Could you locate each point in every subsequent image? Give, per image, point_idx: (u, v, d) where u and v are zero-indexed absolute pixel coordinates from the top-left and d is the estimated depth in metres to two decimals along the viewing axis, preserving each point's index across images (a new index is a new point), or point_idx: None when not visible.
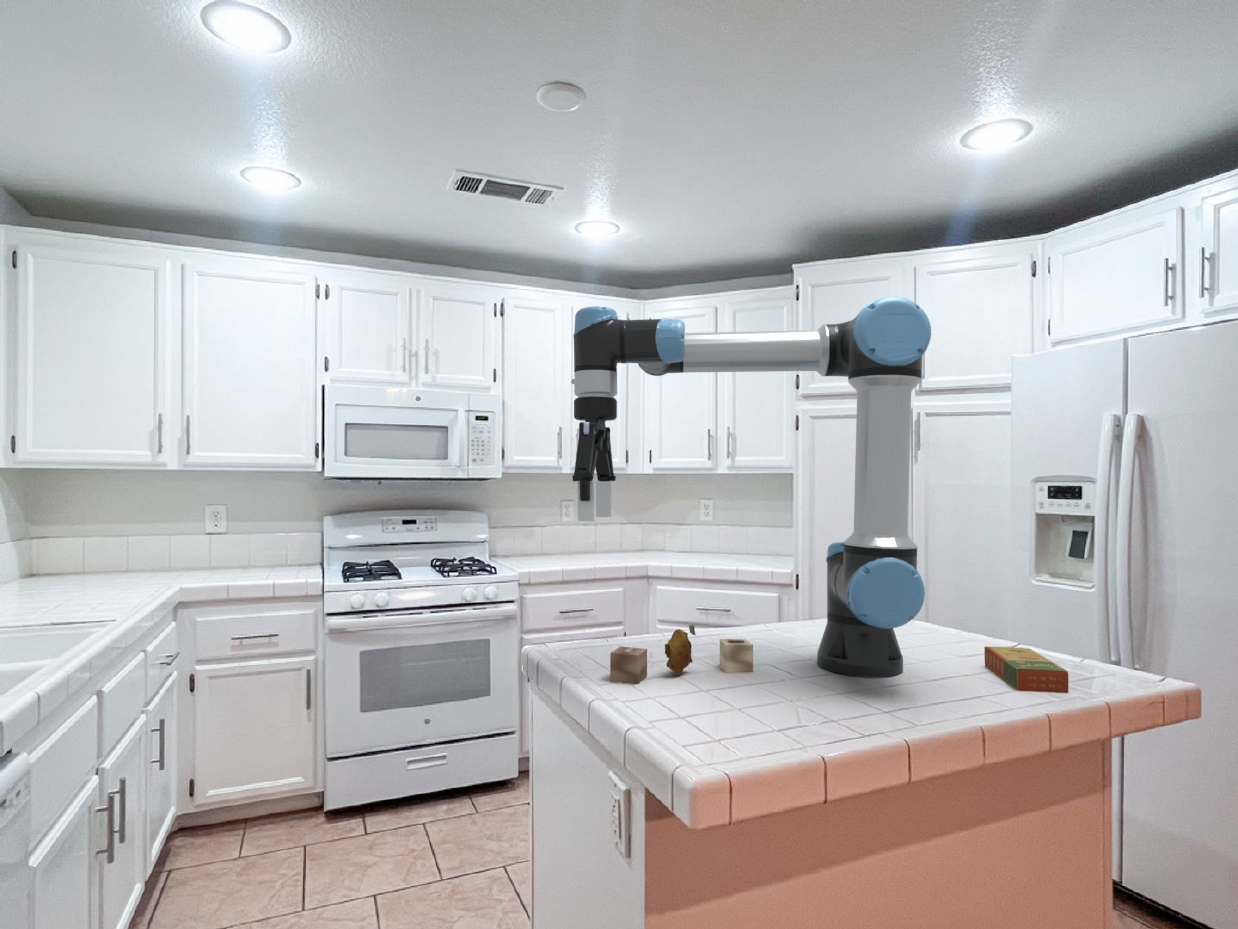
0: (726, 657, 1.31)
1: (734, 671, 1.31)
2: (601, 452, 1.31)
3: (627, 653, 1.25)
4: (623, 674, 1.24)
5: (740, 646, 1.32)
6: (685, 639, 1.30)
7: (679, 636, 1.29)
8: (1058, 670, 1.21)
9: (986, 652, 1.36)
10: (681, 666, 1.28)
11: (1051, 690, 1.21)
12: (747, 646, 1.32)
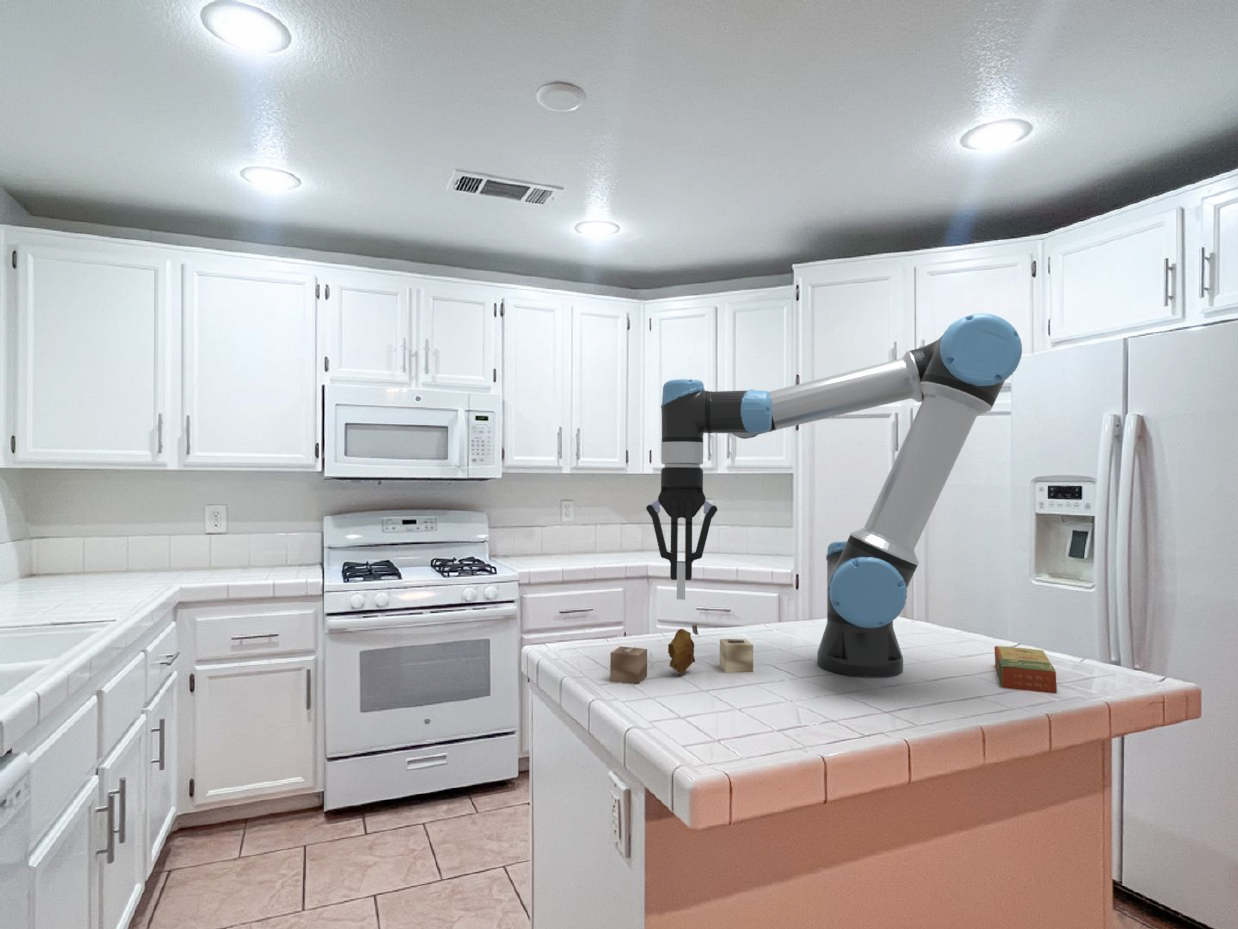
0: (726, 657, 1.31)
1: (734, 671, 1.31)
2: None
3: (627, 653, 1.25)
4: (623, 674, 1.24)
5: (740, 646, 1.32)
6: (688, 639, 1.30)
7: (682, 636, 1.29)
8: (1046, 670, 1.21)
9: None
10: (684, 666, 1.29)
11: (1038, 690, 1.21)
12: (747, 646, 1.32)
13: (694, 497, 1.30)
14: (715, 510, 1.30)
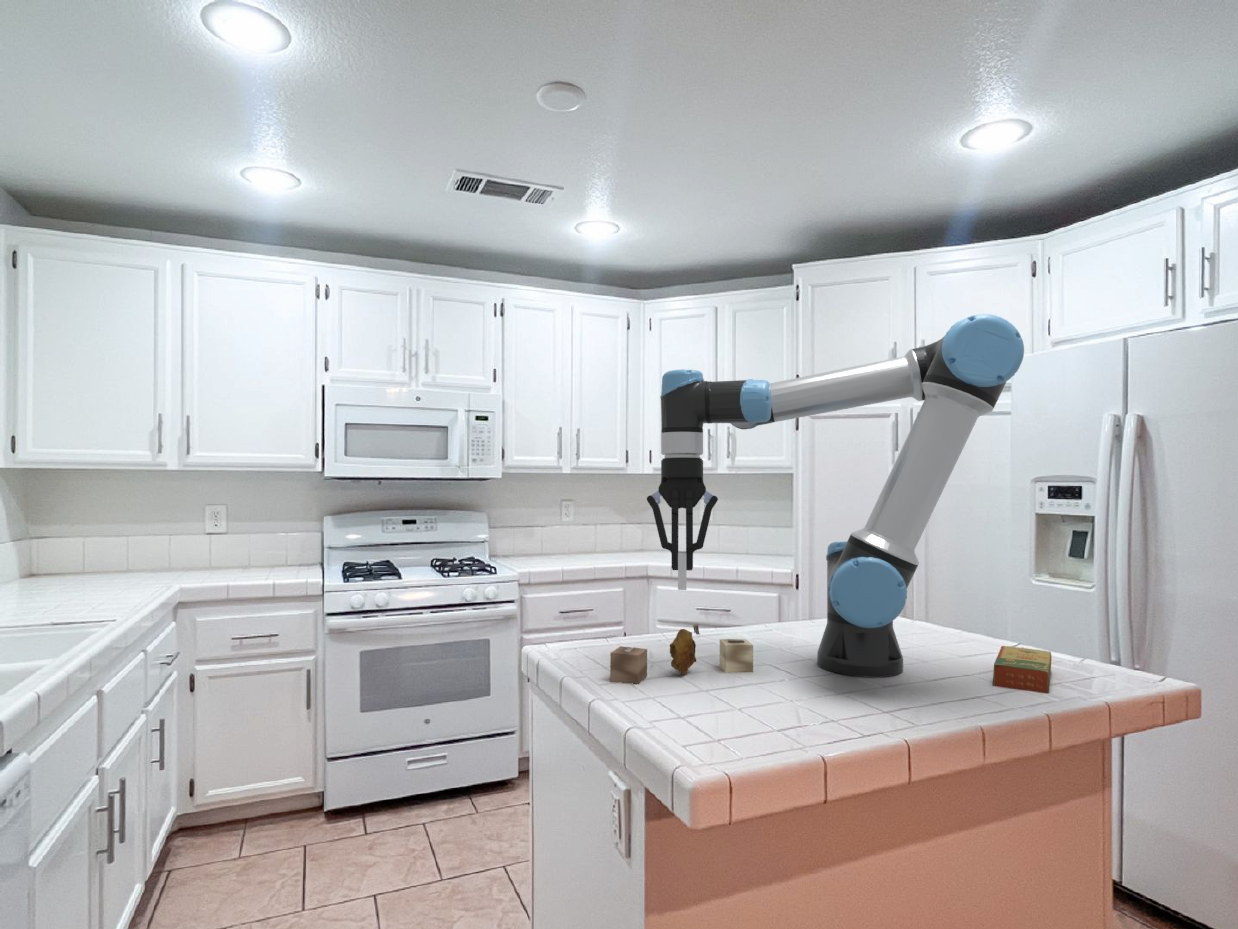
0: (726, 657, 1.31)
1: (734, 671, 1.31)
2: None
3: (627, 653, 1.25)
4: (623, 674, 1.24)
5: (740, 646, 1.32)
6: (690, 639, 1.30)
7: (684, 636, 1.30)
8: (1038, 670, 1.21)
9: None
10: (686, 666, 1.29)
11: (1029, 689, 1.21)
12: (747, 646, 1.32)
13: (694, 487, 1.30)
14: (715, 500, 1.30)
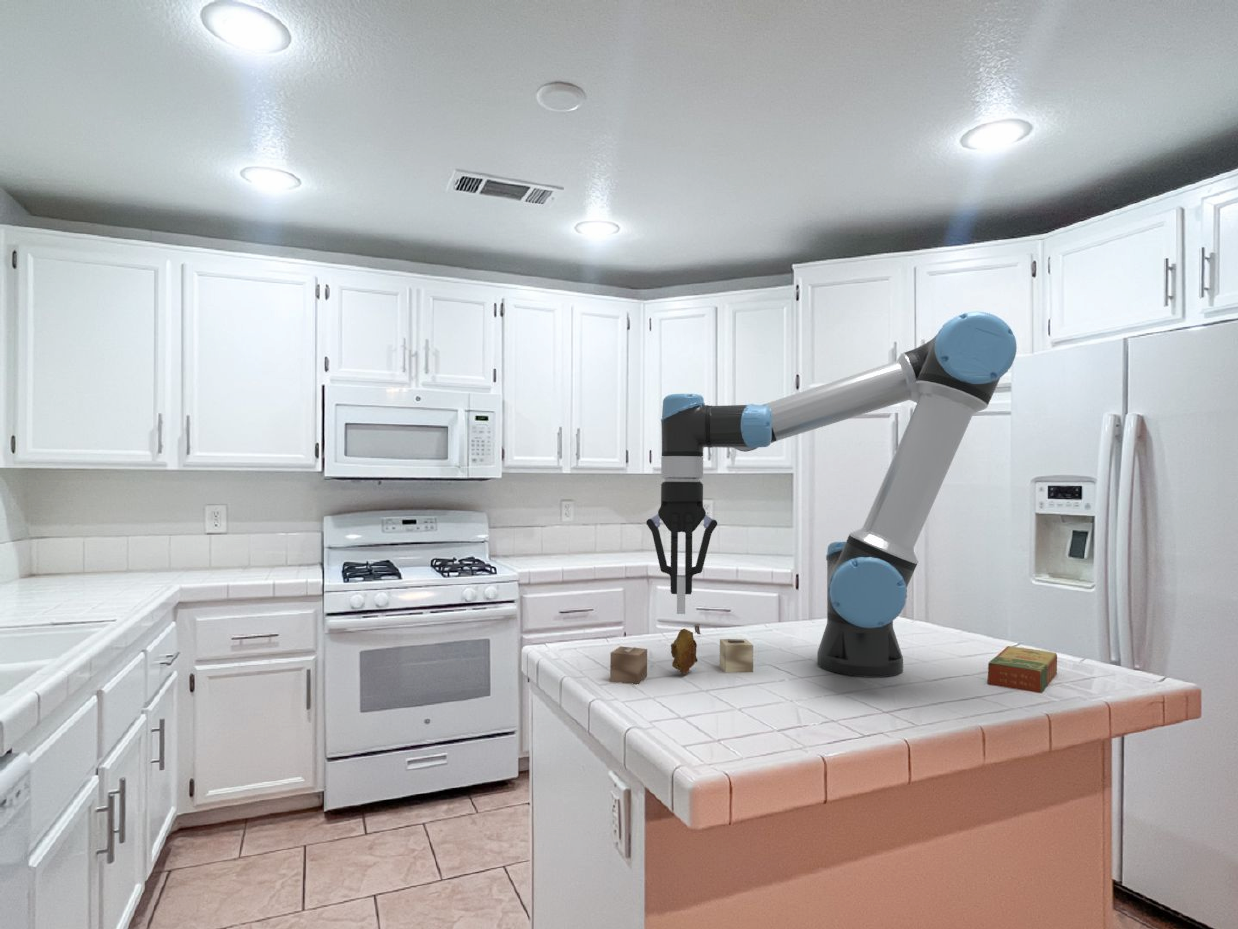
0: (726, 657, 1.31)
1: (734, 671, 1.31)
2: None
3: (627, 653, 1.25)
4: (623, 674, 1.24)
5: (740, 646, 1.32)
6: (691, 639, 1.30)
7: (685, 636, 1.30)
8: (1031, 669, 1.21)
9: None
10: (687, 665, 1.29)
11: (1022, 688, 1.22)
12: (747, 646, 1.32)
13: (694, 511, 1.30)
14: (715, 524, 1.30)
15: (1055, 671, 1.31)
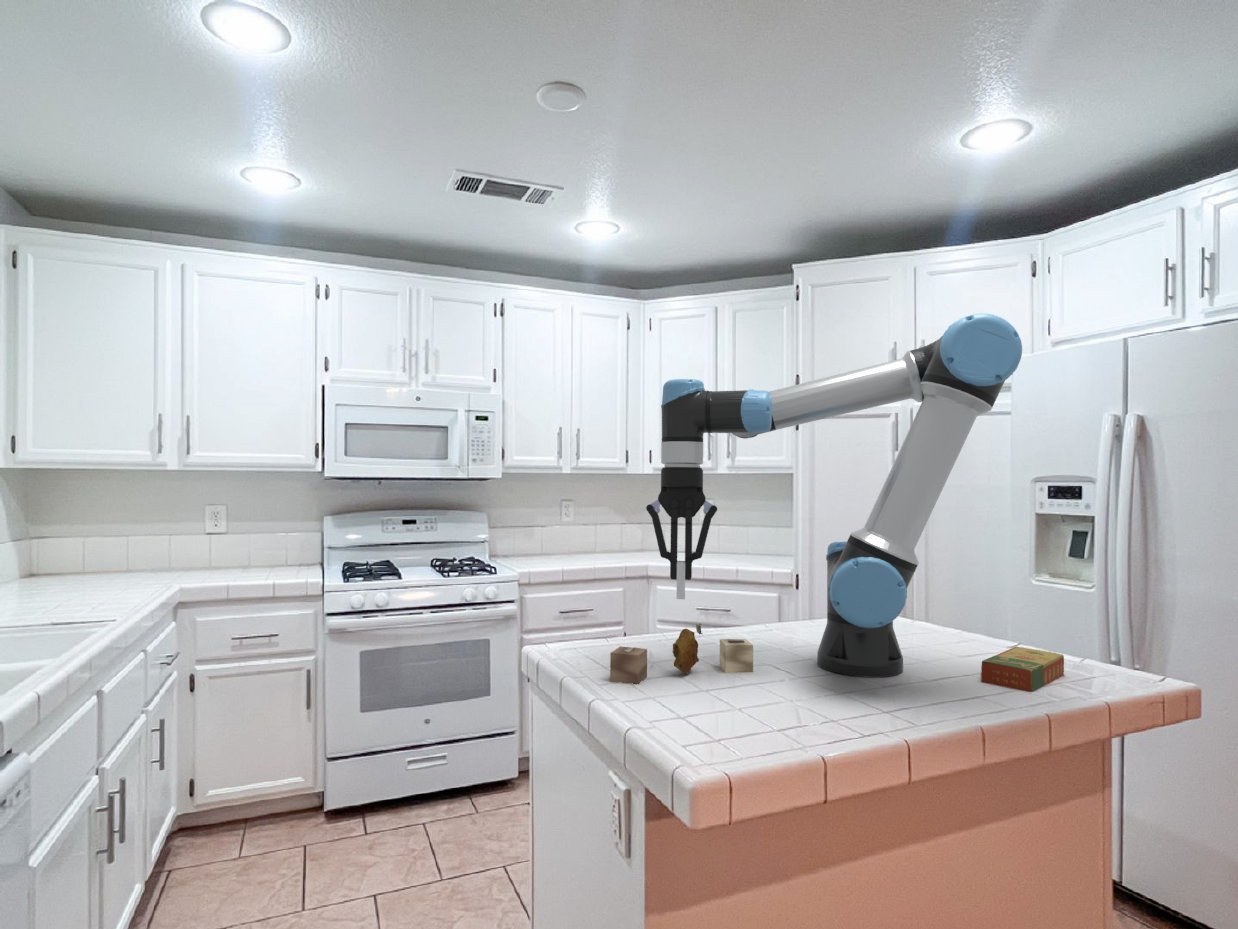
0: (726, 657, 1.31)
1: (734, 671, 1.31)
2: None
3: (627, 653, 1.25)
4: (623, 674, 1.24)
5: (740, 646, 1.32)
6: (692, 639, 1.30)
7: (687, 636, 1.30)
8: (1022, 668, 1.22)
9: None
10: (689, 665, 1.29)
11: (1014, 687, 1.22)
12: (747, 646, 1.32)
13: (694, 497, 1.30)
14: (715, 510, 1.30)
15: (1060, 673, 1.30)
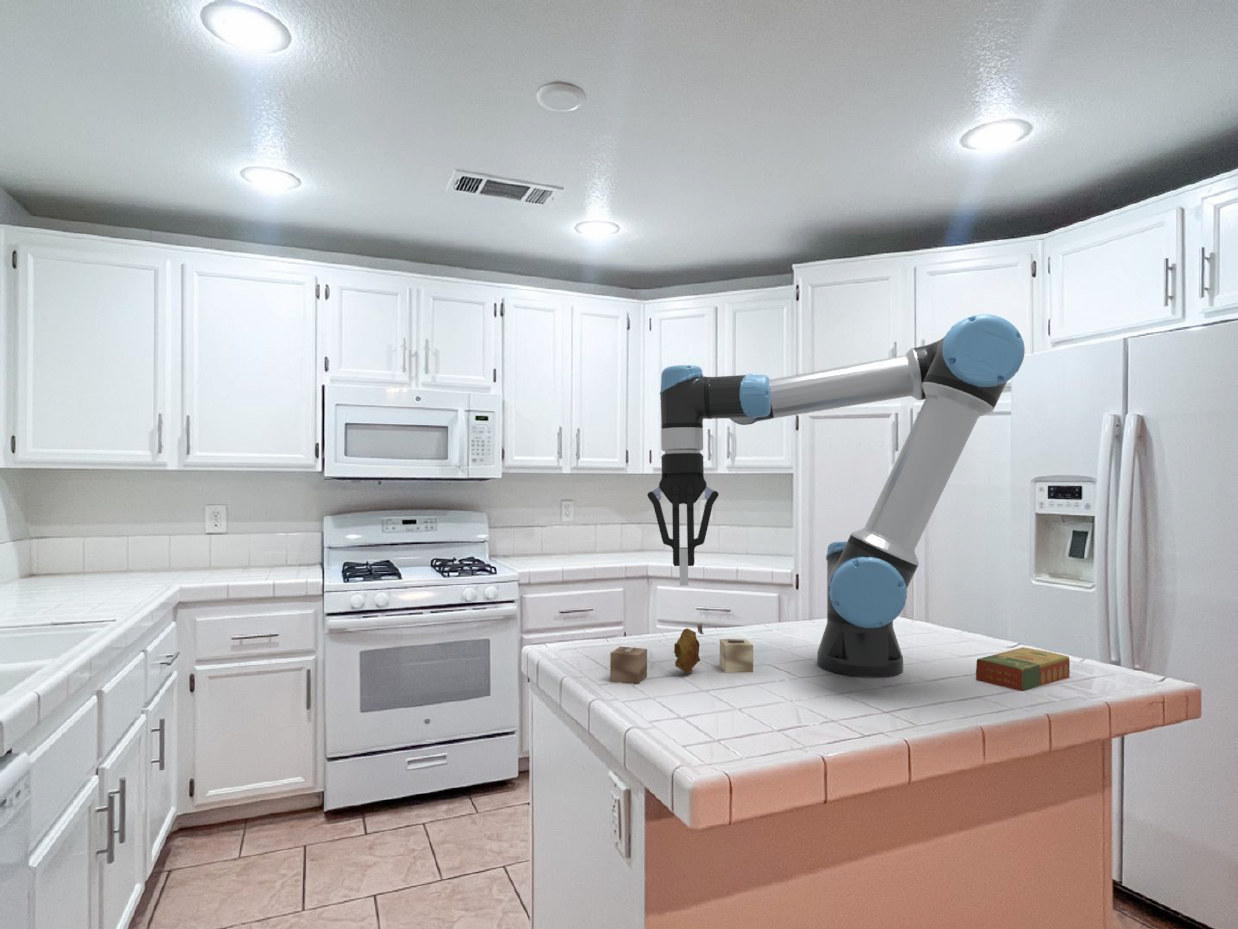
0: (726, 657, 1.31)
1: (734, 671, 1.31)
2: None
3: (627, 653, 1.25)
4: (623, 674, 1.24)
5: (740, 646, 1.32)
6: (694, 639, 1.30)
7: (688, 636, 1.30)
8: (1014, 667, 1.22)
9: None
10: (690, 665, 1.29)
11: (1006, 685, 1.23)
12: (747, 646, 1.32)
13: (695, 483, 1.30)
14: (716, 495, 1.30)
15: (1064, 674, 1.29)
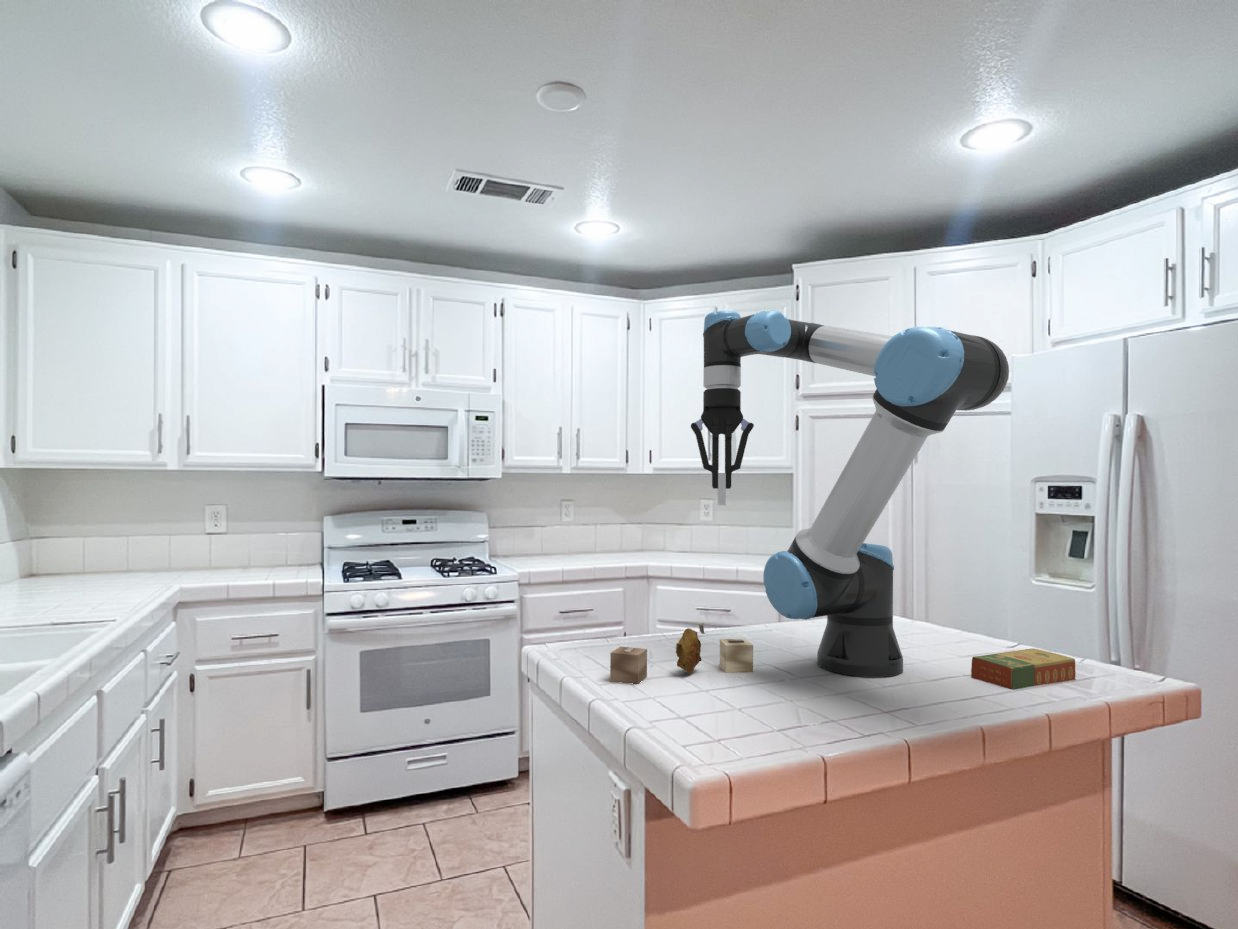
0: (726, 657, 1.31)
1: (734, 671, 1.31)
2: (725, 438, 1.48)
3: (627, 653, 1.25)
4: (623, 674, 1.24)
5: (740, 646, 1.32)
6: (695, 638, 1.30)
7: (690, 635, 1.30)
8: (1005, 665, 1.23)
9: None
10: (692, 665, 1.29)
11: (997, 684, 1.24)
12: (747, 646, 1.32)
13: (733, 415, 1.48)
14: (752, 426, 1.47)
15: (1068, 676, 1.28)
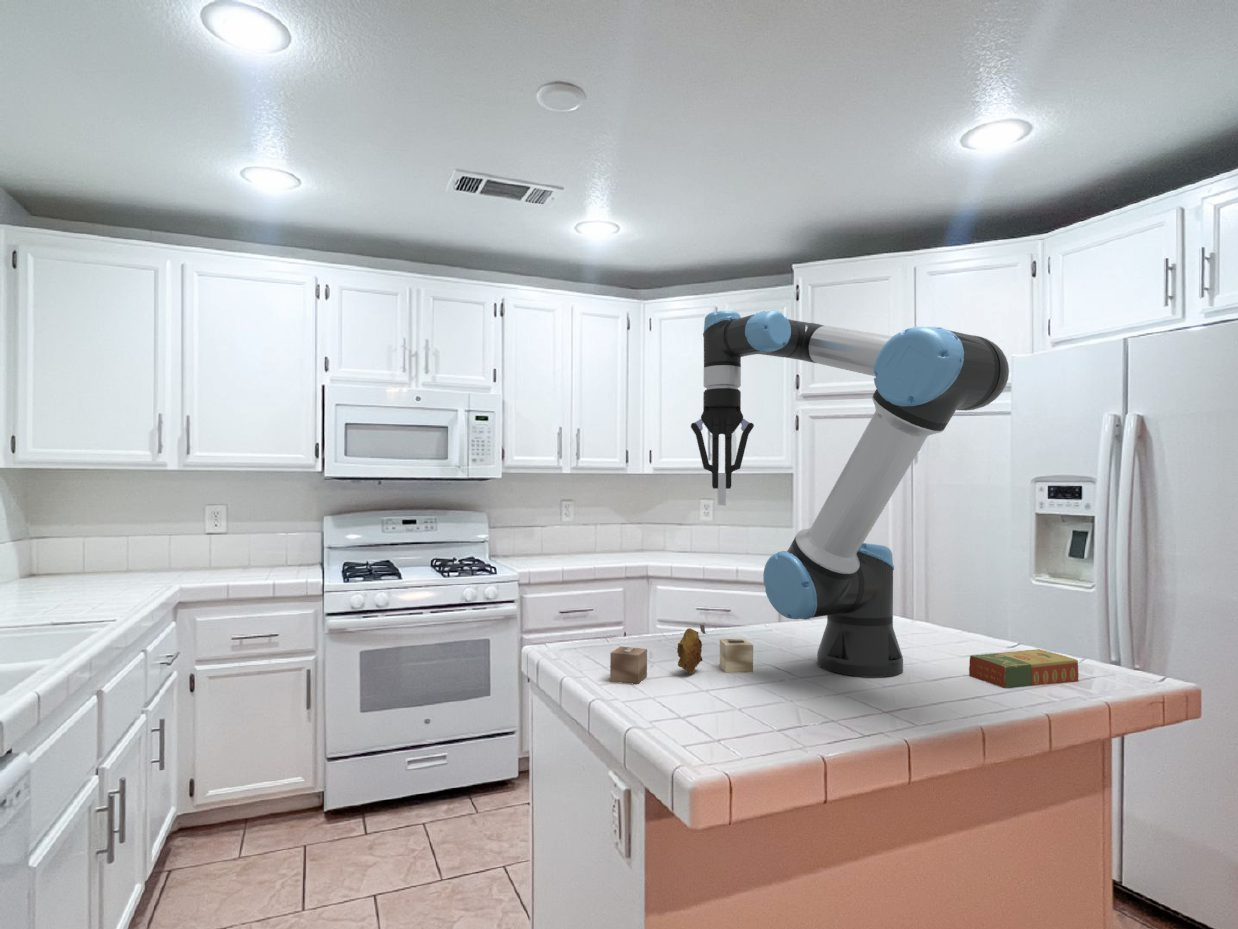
0: (726, 657, 1.31)
1: (734, 671, 1.31)
2: (725, 438, 1.48)
3: (627, 653, 1.25)
4: (623, 674, 1.24)
5: (740, 646, 1.32)
6: (696, 638, 1.31)
7: (691, 635, 1.30)
8: (999, 664, 1.24)
9: None
10: (693, 665, 1.29)
11: (992, 682, 1.25)
12: (747, 646, 1.32)
13: (733, 415, 1.48)
14: (752, 426, 1.47)
15: (1070, 677, 1.27)
